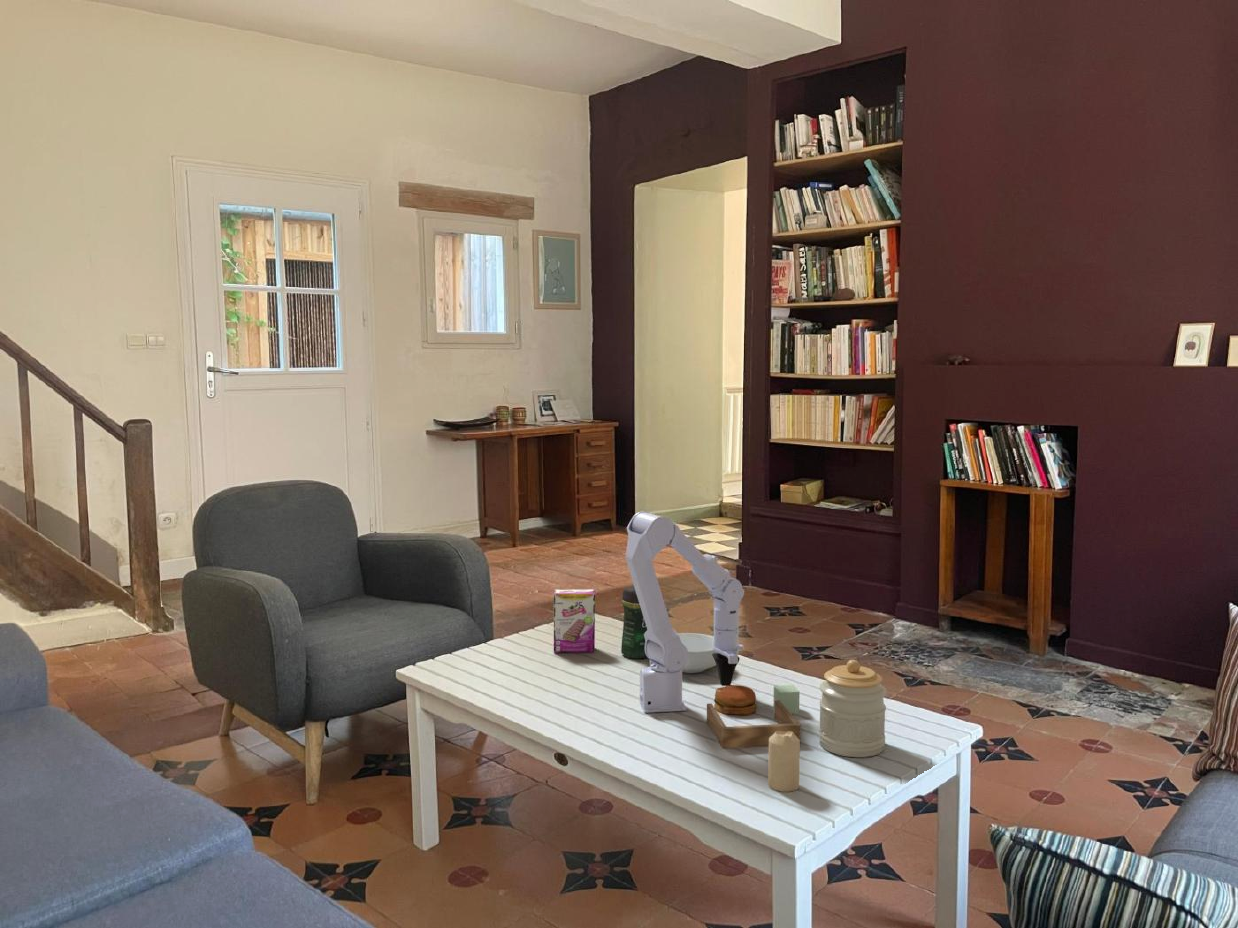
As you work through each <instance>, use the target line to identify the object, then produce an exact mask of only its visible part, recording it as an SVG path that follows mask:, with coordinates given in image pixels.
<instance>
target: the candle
mask: <svg viewBox="0 0 1238 928" xmlns="http://www.w3.org/2000/svg"><path fill="white" fill-rule="evenodd" d="M800 745H801V739H800V740H799V739H798V738H797V737H796V736H795V734H794V733H793V732H791V731H788V732H782V731H778V732H777V731H776V732H775V733H774V734H773V735H772V736H771V737H770V738H769V746H768V769H767V770H768V771H767V772H768V773H767V774H768V779H767V780H768V781H767V782H768V783H767V785H768V786H769V788H770V789H772V790H774V791H776V792H777V791H778V792H781V793H782V792H783V793H784V792H785V793H789V792H794V791H796V790H798V789H799V787H800V758H801V757H800V750H801V749H800V748H801V747H800Z"/></svg>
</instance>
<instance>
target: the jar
mask: <svg viewBox="0 0 1238 928" xmlns="http://www.w3.org/2000/svg"><path fill="white" fill-rule="evenodd" d="M823 677H824V679H825V680H824V681H822V682H821V683H820V684H819V690H820V691H821V699H820V700H819V702H818V703H819V730H818V738H819V744H820V746H821V747H822V748H823V749H825V750H826V751H827V752H830V753H833V754H835V755H839V756H843V757H850V758H868V757H869V758H870V757H873V756H877V755H879V754H880V753H882V752H883V751H884V747H885V744H886V735H885V729H886V728H885V727H886V725H885V723H886V711H887V707H886V704H885V703H884V697H885V696H887V689H886V688H885V687H884V686H883V685H882V682H883V678H882V676H881V675H880V674H878V673H877V672H875V670H873V669H871V668H869V667H866V666H862V665H861V664H860V662H859V660H855V659H850V660H848V661H847V662H846V664H845V665H844V664H843V665H838V666H833V668H831V669H830V670H829V669H828V670H827V671H826V672H825V673H824V675H823Z"/></svg>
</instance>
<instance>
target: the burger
mask: <svg viewBox="0 0 1238 928" xmlns="http://www.w3.org/2000/svg"><path fill="white" fill-rule="evenodd" d="M756 695H757V694H756V693H755V691H754V690H753V688H750V687H748V686H745V685H739V684H738V685H737V684H731V685H728V686H721V687H718V688H717V689H716V690H715V693H714V700H713V702H714V705H713V707H714V708H715V710H716V711H717V713H720V714H724V715H737V716H739V715H740V716H741V715H742V716H743V715H744V716H745V715H746V716H747V715H750V714H753V713H755V712H756V711H757V708H758V707H757V706H758V705H757V703H756V702H757V696H756Z"/></svg>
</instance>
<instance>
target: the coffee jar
mask: <svg viewBox="0 0 1238 928" xmlns="http://www.w3.org/2000/svg"><path fill="white" fill-rule="evenodd" d="M621 604H622V606H623V607H622V608H623V626H622V627H623V628H622V636H621V647H620V648H621V650H620V651H621V652H620V653H621V654H622V655H623V656H625V657H626V658H629V659H630V658H631V659H644V658H648V657H647V656H646V654H645V637H644V633H645V632H646V631H647V627H646V623H645V620H644V617H643V614H642V610H641V607H640V604H639V601H638V597H637V594H636V591H635V588H634V586H632V587H625V588H624V589H623V590H622V596H621Z"/></svg>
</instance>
